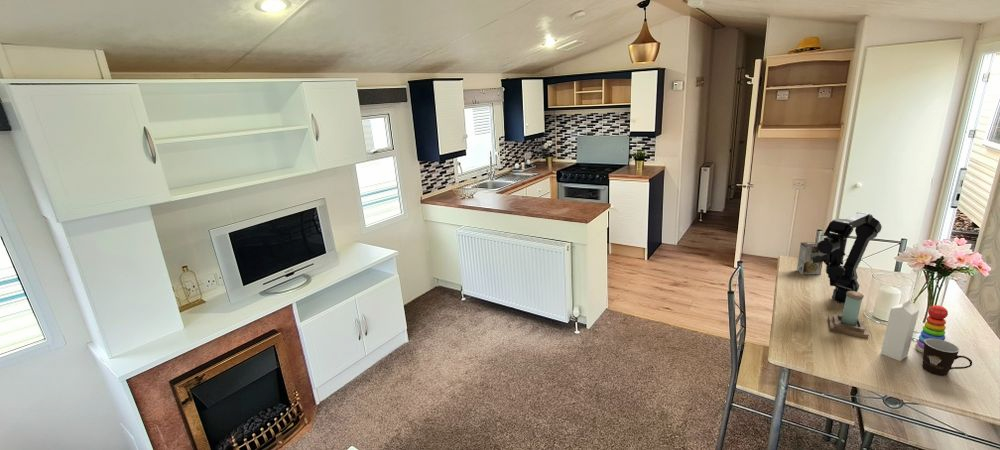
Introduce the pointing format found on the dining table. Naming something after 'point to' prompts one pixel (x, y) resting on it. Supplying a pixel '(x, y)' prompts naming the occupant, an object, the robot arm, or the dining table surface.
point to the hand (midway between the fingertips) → (830, 281)
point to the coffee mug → (940, 356)
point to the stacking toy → (933, 326)
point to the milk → (899, 331)
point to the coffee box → (808, 259)
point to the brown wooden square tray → (847, 327)
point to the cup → (851, 308)
